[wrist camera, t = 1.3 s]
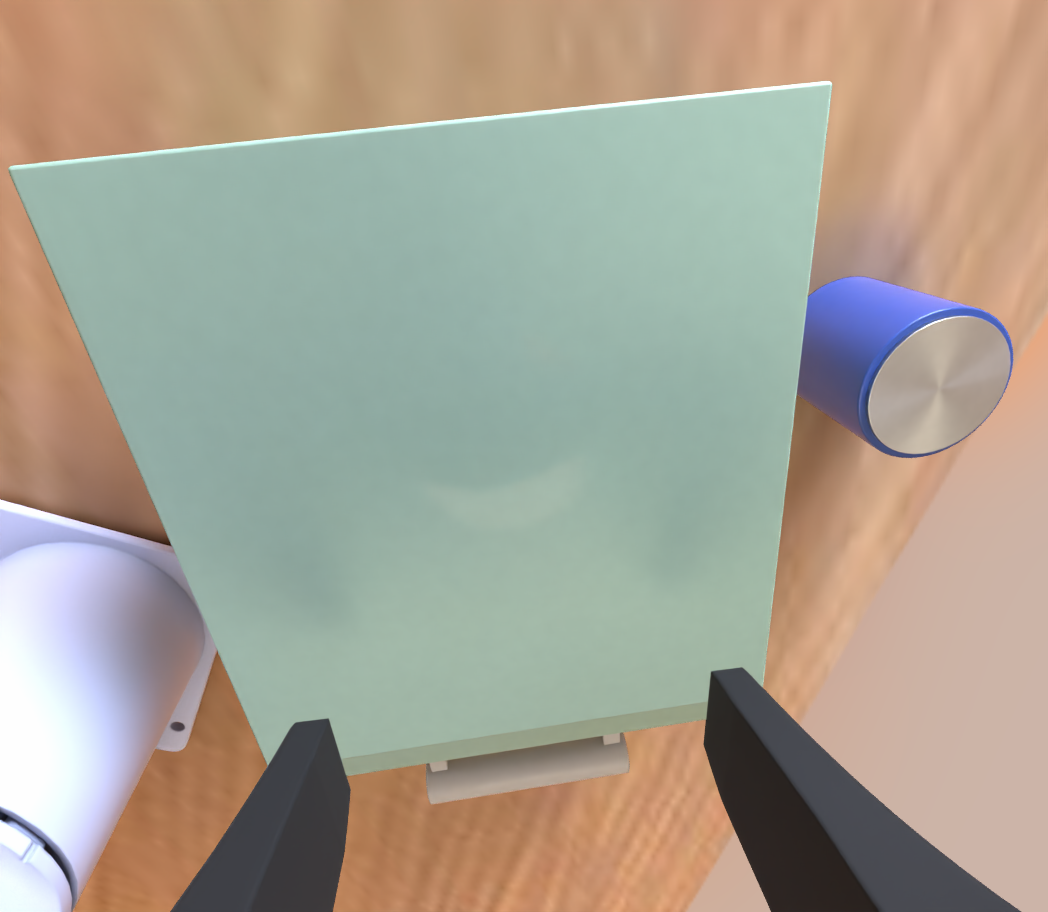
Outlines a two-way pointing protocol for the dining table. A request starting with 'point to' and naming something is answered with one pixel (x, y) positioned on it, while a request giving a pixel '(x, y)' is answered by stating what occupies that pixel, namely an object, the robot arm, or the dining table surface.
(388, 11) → the dining table surface
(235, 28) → the dining table surface
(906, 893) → the robot arm
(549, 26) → the dining table surface
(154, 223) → the cabinet
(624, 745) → the drawer
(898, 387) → the can
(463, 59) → the dining table surface
